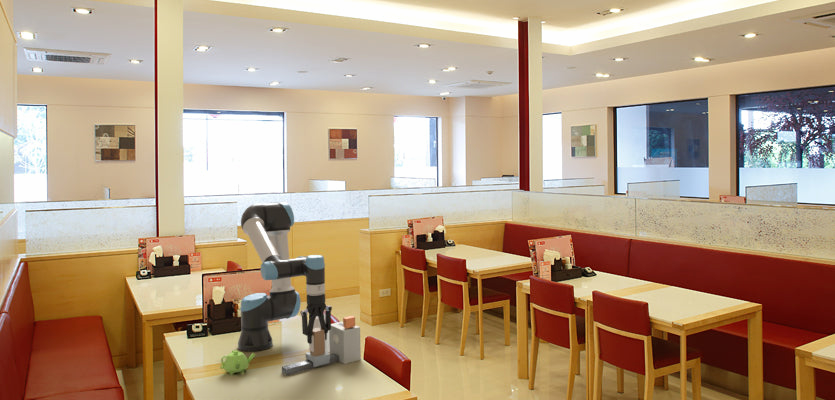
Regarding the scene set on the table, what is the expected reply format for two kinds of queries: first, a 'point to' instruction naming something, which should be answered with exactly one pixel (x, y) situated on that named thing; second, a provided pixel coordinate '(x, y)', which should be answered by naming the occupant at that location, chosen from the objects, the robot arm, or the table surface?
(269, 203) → the robot arm
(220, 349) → the table surface
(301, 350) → the table surface
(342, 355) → the cabinet
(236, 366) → the teapot
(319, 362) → the carriage
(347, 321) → the block
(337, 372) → the table surface
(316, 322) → the cup
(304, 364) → the rail
